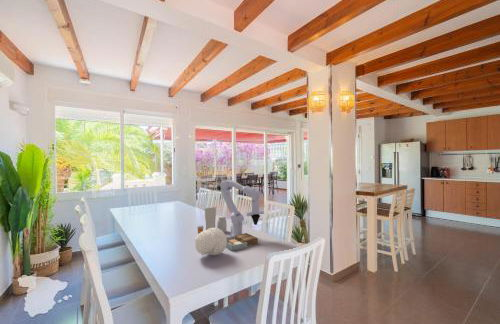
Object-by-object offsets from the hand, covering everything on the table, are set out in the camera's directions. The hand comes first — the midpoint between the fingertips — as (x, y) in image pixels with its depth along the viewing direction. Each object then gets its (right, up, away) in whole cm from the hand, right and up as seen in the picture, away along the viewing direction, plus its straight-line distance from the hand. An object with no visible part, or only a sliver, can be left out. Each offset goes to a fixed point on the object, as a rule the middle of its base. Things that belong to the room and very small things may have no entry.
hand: (255, 224), depth 175 cm
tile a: (-16, -8, -12) cm, 21 cm away
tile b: (-12, -8, -17) cm, 22 cm away
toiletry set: (-34, -10, +11) cm, 37 cm away
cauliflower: (-27, -11, -33) cm, 44 cm away
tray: (-15, -10, -15) cm, 24 cm away
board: (-7, -10, -8) cm, 15 cm away
